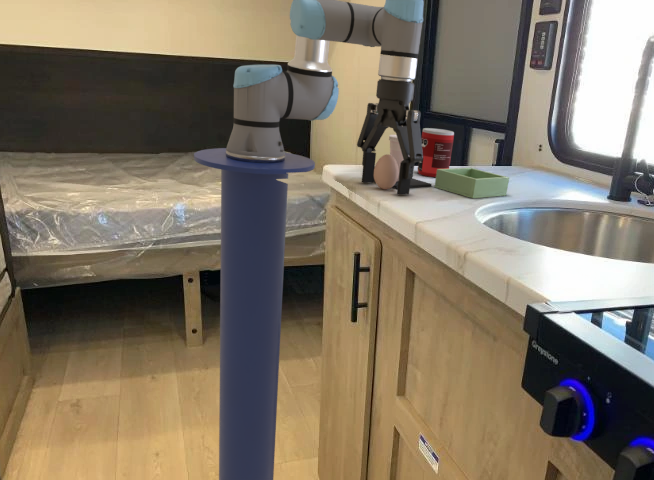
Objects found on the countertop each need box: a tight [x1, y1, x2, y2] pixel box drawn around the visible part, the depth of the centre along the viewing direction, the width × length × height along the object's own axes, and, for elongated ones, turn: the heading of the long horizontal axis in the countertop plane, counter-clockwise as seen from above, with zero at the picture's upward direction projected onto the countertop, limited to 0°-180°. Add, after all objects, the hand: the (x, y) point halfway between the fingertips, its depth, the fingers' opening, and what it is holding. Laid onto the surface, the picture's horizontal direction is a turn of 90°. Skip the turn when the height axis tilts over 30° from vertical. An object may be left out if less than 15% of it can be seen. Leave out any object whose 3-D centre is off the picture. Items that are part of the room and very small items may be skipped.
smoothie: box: [388, 134, 404, 181], centre depth 135 cm, size 6×6×14 cm
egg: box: [374, 153, 399, 190], centre depth 127 cm, size 5×5×7 cm
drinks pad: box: [373, 177, 433, 190], centre depth 137 cm, size 11×11×1 cm
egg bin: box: [434, 167, 510, 199], centre depth 135 cm, size 12×12×4 cm
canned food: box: [417, 127, 455, 178], centre depth 150 cm, size 8×8×11 cm
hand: (384, 188), depth 128 cm, fingers open, 11 cm apart
